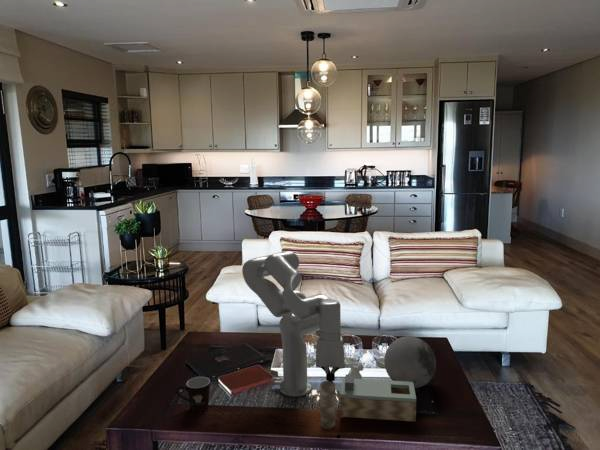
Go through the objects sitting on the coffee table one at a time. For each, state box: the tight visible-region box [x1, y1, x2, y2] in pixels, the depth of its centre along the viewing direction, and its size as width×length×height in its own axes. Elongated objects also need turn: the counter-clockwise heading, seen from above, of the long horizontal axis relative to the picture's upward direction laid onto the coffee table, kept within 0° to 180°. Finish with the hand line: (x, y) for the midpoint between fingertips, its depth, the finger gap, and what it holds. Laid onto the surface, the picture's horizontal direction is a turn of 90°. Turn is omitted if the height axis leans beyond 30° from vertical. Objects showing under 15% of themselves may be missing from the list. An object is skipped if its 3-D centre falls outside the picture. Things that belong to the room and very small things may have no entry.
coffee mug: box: [176, 376, 211, 412], centre depth 177 cm, size 12×9×10 cm
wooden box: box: [339, 387, 417, 422], centre depth 171 cm, size 26×12×8 cm, turn 82°
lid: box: [339, 374, 417, 403], centre depth 170 cm, size 26×12×4 cm, turn 82°
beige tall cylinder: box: [320, 380, 336, 430], centre depth 163 cm, size 5×5×15 cm
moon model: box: [383, 335, 437, 389], centre depth 189 cm, size 20×20×20 cm
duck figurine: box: [347, 360, 364, 379], centre depth 190 cm, size 12×8×11 cm
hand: (330, 382), depth 173 cm, fingers closed
